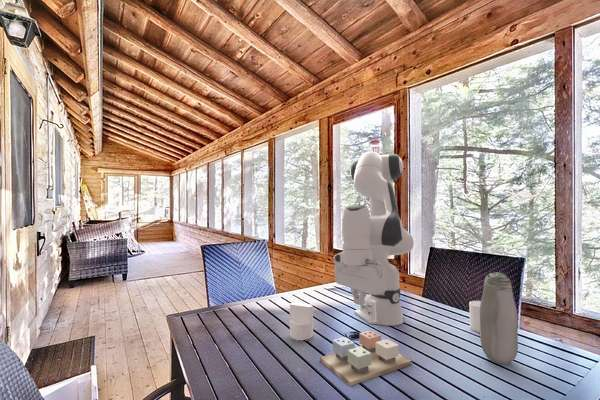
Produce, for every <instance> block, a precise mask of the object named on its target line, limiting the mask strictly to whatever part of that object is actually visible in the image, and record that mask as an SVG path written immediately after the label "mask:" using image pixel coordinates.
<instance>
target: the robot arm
mask: <svg viewBox="0 0 600 400" xmlns="http://www.w3.org/2000/svg"><path fill="white" fill-rule="evenodd" d="M403 170H404V163H403V160H402V158H401V156H399V155H398V154H396V153H389V154H379V153H378V152H375V151H366V152H364V153H363V154H361V155H360V157H359V159H356V160H355V159H354V160H353V161H352V163H351V164H350V170H349V173H350V176H351V179H352V180H353V186H354V188H355V190H356V191H357V192H358V193H359V194H360V195H362V196H364V197H367V198H368V199H369V207H368V206H367V205H365V204H351V205H348V206H344V208H343V210H342V218H341V219H342V223H341V235H342V238H343V244H342V251H341V252H338V253H336V254H334V255H333V262H334V267H333V269H334V281H335V283H336V284H338V285H340V286H344V287H346V288H347V287H348V288H350V293H351V296H353V303H354V304H355V305H359V308H357V309H355V311H354V314H355V315H357V316H358V317H360V318H362V319H363V320H364V321H366V322H367V323H369V324H370V325H379V326H380V325H381V326H387V327H389V326H399V325H402V324H403V323H404V314H403V312H402V302H401V292H402V291H401V287H400V271H399V269H398V268H397V267H396V265H393V264H392V263H390V262H389V258H388V256H402V255H404V254H407V253H410V252H411V251H412V249H413V247H414V244H415V243H414V242H415V241H414V238H413V236H412V234H411V233H410V232H409V231H408V230H407V229H405V228H404V225H403V222H402V220H401V218H400V213H399V209H398V205H397V198H396V195H395V189H394V185H393V183H396V181H397V180H398V179H399V178H400V177H401V176H402V174H403Z"/></svg>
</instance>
